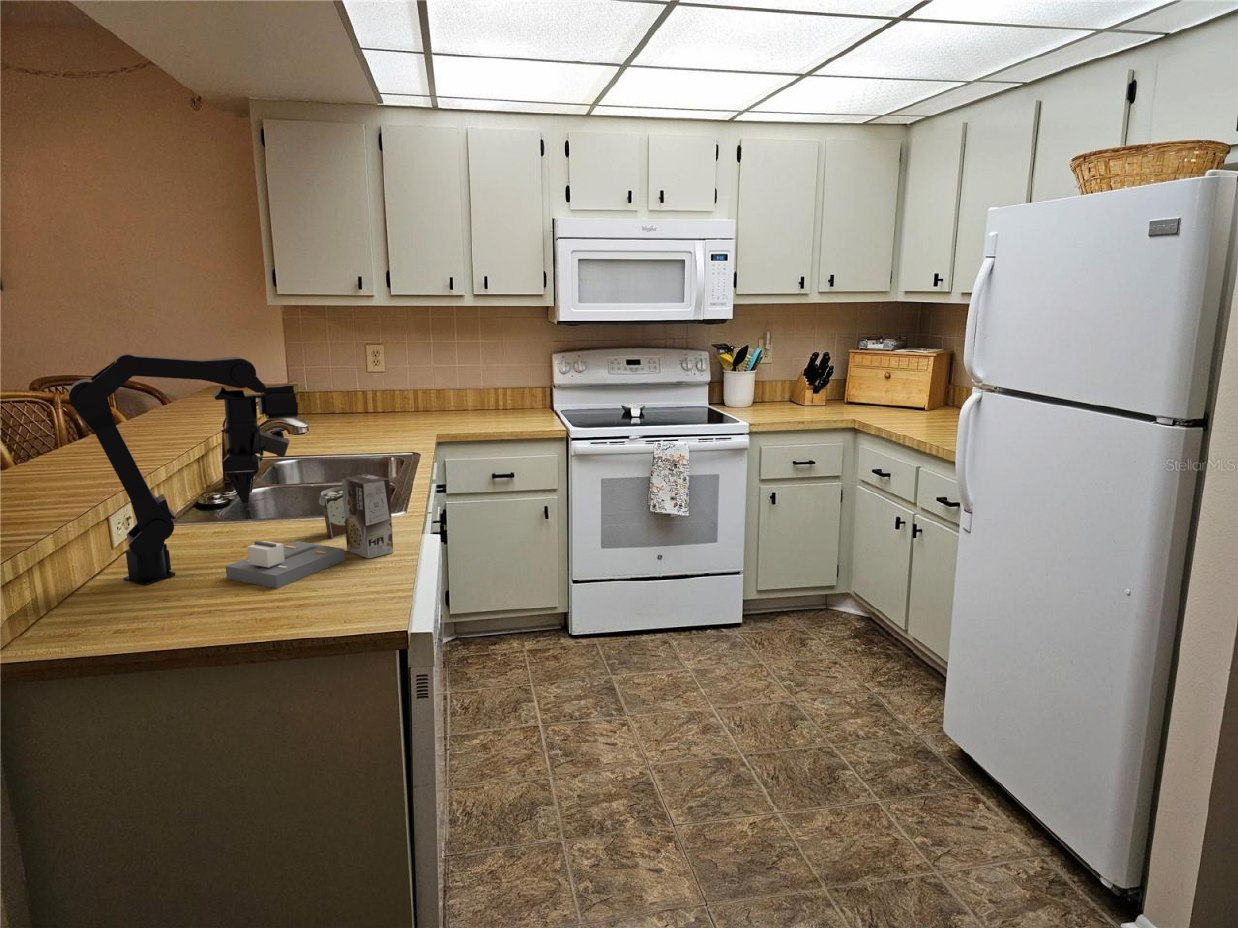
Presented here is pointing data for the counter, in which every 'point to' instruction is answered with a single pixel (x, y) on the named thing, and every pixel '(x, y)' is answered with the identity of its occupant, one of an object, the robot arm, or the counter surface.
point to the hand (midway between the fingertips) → (247, 497)
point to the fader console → (287, 565)
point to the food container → (333, 511)
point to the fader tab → (265, 553)
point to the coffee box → (367, 515)
